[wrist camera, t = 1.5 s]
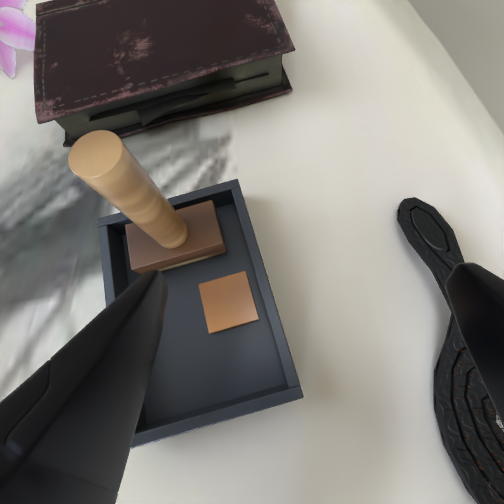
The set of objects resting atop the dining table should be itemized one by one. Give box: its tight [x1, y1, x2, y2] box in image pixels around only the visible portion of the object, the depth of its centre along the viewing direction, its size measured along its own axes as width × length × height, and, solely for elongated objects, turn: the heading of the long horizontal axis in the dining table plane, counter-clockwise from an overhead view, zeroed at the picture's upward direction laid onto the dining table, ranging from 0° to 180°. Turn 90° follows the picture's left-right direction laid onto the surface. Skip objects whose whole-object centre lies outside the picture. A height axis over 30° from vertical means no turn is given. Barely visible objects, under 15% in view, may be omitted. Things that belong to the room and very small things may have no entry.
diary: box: [34, 0, 295, 147], centre depth 30 cm, size 19×25×5 cm
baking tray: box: [97, 179, 303, 449], centre depth 22 cm, size 18×13×3 cm
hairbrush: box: [397, 197, 504, 504], centre depth 20 cm, size 8×4×25 cm
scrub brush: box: [68, 130, 227, 274], centre depth 19 cm, size 4×8×13 cm, turn 105°
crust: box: [199, 271, 260, 334], centre depth 22 cm, size 4×4×1 cm
